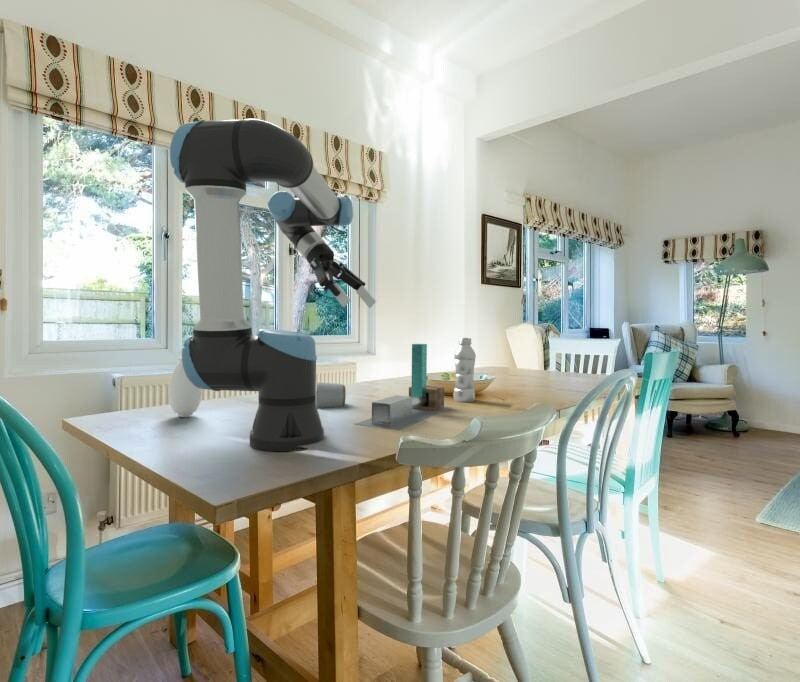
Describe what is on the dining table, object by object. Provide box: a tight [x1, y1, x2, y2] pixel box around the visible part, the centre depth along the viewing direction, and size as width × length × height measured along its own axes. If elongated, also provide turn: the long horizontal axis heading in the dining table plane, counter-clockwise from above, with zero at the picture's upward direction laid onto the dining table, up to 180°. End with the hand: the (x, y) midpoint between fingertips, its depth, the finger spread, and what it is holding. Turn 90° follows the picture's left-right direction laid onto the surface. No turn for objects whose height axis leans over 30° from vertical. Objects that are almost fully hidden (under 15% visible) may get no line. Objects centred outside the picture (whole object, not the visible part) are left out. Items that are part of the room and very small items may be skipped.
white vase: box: [168, 356, 202, 418], centre depth 131 cm, size 8×8×18 cm
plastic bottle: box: [452, 337, 477, 403], centre depth 154 cm, size 6×7×20 cm
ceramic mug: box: [316, 381, 347, 410], centre depth 146 cm, size 11×8×8 cm
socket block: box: [408, 384, 445, 411], centre depth 142 cm, size 6×8×6 cm
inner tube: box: [411, 343, 429, 409], centre depth 135 cm, size 17×3×17 cm, turn 153°
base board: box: [354, 406, 452, 431], centre depth 131 cm, size 32×12×1 cm, turn 153°
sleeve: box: [371, 394, 412, 426], centre depth 124 cm, size 12×5×5 cm, turn 153°
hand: (360, 304), depth 141 cm, fingers open, 13 cm apart
